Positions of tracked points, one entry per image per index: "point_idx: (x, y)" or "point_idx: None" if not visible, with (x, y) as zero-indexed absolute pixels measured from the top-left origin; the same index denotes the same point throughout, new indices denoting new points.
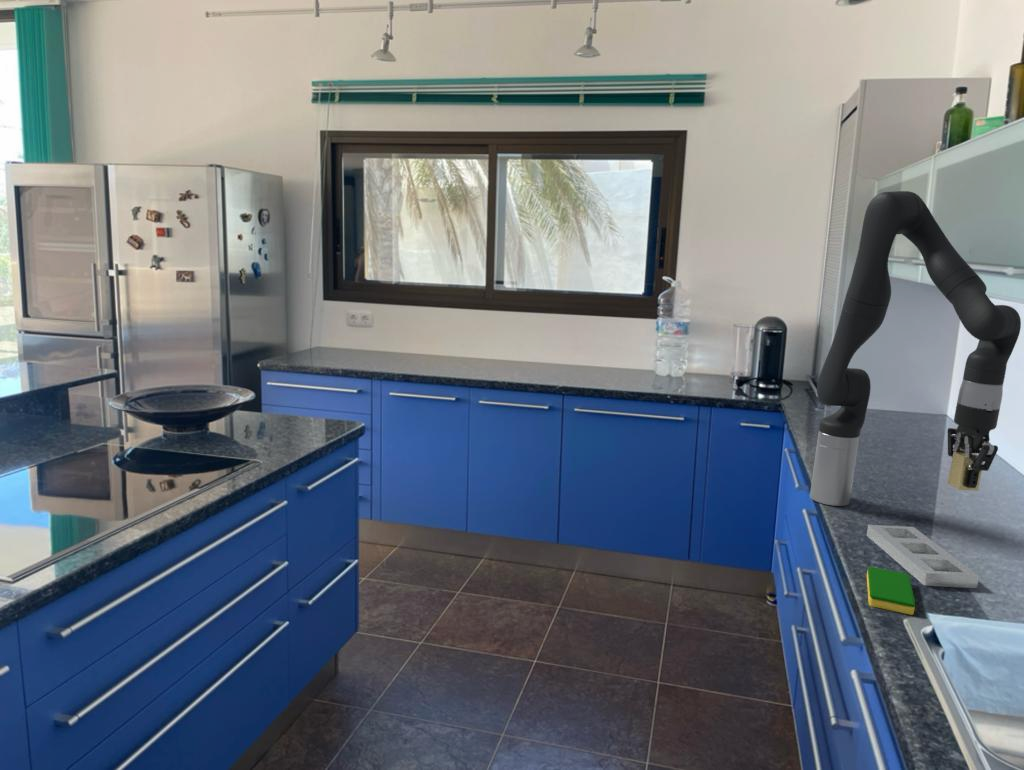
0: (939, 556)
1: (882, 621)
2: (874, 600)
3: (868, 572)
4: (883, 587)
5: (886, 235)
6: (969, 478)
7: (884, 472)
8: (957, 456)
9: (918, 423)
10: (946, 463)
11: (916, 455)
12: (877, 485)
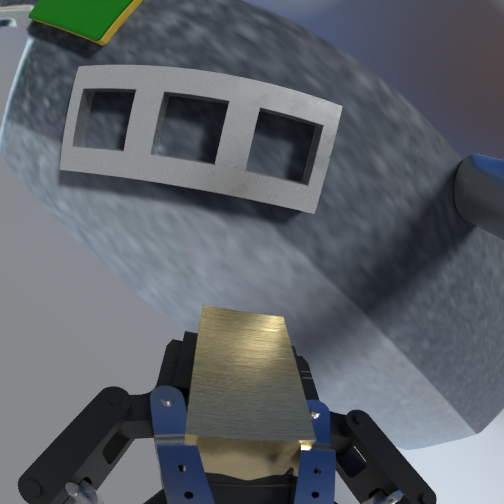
0: (141, 145)
1: None
2: None
3: None
4: None
5: None
6: (176, 361)
7: (480, 347)
8: (265, 425)
9: (487, 417)
10: (450, 413)
11: (473, 396)
12: (472, 314)
